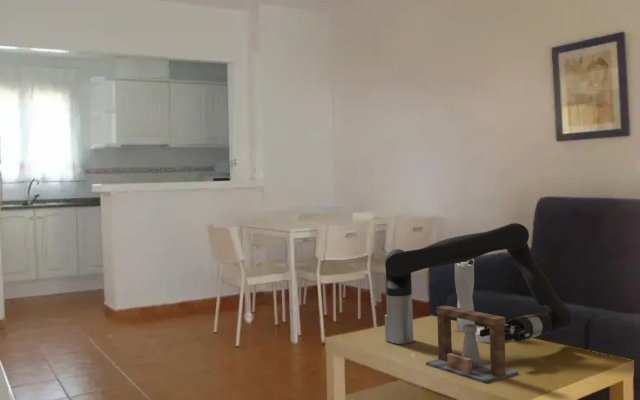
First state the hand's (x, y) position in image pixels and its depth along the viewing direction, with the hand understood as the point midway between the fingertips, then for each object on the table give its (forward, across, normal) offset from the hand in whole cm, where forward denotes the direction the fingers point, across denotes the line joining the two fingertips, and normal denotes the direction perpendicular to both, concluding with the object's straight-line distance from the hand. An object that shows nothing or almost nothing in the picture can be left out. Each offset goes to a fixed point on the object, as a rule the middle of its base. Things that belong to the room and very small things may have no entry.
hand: (490, 335), depth 213 cm
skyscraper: (-26, -37, +9) cm, 46 cm away
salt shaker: (+9, 0, +8) cm, 12 cm away
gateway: (+9, 0, +9) cm, 13 cm away
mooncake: (-23, -23, +9) cm, 34 cm away
